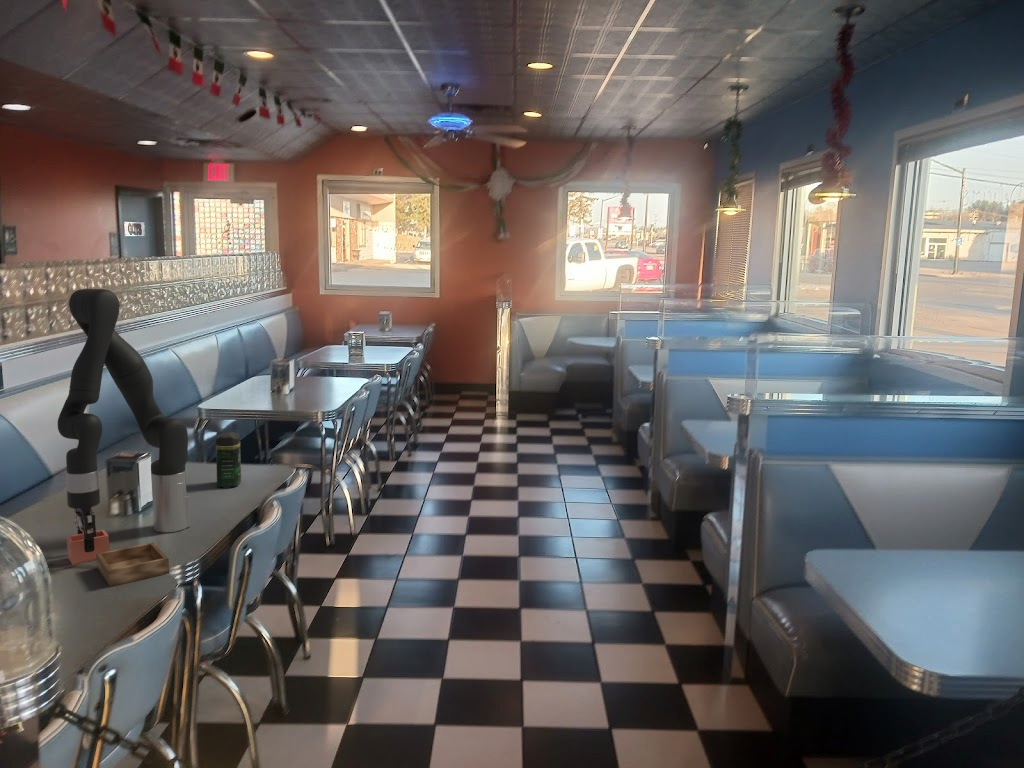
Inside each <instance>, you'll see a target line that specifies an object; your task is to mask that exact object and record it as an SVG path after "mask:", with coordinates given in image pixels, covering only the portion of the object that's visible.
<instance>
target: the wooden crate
mask: <svg viewBox="0 0 1024 768" xmlns="http://www.w3.org/2000/svg"><path fill="white" fill-rule="evenodd" d="M96 558H97V560H96V569H97V570H98V573H100V575H101V576H102V578H103V579H104V580H105V581H106V583H107V585H108V586H109V587H115V586H120V585H124V584H128V583H132V582H136V581H142V580H146V579H151V578H154V577H159V576H160V577H161V576H163V575H168V574H170V563H169V562H170V558H169V557H168V556H167V555H166V554H165V553H164V552H163V551H162V550H161V549H160V548H159V547H158V545H157V544H155V542H153V541H152V542H148V543H142V544H139V545H135V546H134V545H133V546H127V547H122V548H118V549H112V550H110V551H107V552H102V553H97V554H96Z"/></svg>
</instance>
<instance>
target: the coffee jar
mask: <svg viewBox="0 0 1024 768" xmlns="http://www.w3.org/2000/svg"><path fill="white" fill-rule="evenodd" d="M215 460H216V461H215V462H216V485H217V487H218V488H219V487H220V488H225V489H226V488H227V489H229V488H232V487H238V486H239V485H240V484H241V482H242V468H241V467H242V465H241V462H242V460H241V435H240V434H239V433H237V432H236V431H223V432H222V433H220V434H218V435H217V436H216V438H215Z"/></svg>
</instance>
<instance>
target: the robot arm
mask: <svg viewBox="0 0 1024 768" xmlns="http://www.w3.org/2000/svg"><path fill="white" fill-rule="evenodd" d="M68 306H69V311H70V313H71V316H72V317H73V319H74V320H75V322H76V323H77V324H78V326H79V327H80V329H81V330H82V331H83V333H84V334H85V335H86V338H87V339H86V340H85V343H84V346H83V347H82V350H81V351H80V353H79V355H78V357H77V359H76V361H75V362H74V364H73V367H72V370H71V375H70V383H69V389H68V396H67V397H66V398H65V401H64V404H63V406H62V408H61V411H60V412H59V415H58V417H57V430H58V433H59V434H60V436H61V437H62V438H64V439H69V440H77V442H78V444H77V447H74V448H71V449H69V450H68V451H67V452H66V455H65V459H66V460H65V461H66V486H65V487H66V499H67V501H66V502H67V507H68V508H69V509H74V511H73V512H74V524H75V528H76V529H77V535H78V534H83V538H84V550H85V552H92V551H94V537H96V531H97V530H96V529H97V528H96V527H97V526H96V515H95V511H93V509H92V508H93V507H96V506H98V505H99V504H100V503H101V493H100V476H99V471H98V459H97V458H98V457H97V454H98V451H99V447H100V444H101V439H102V435H103V424H102V421H101V419H100V417H99V416H97V415H96V414H93V413H85V410H86V409H87V407H88V406H89V405H92V404H96V403H97V402H98V401H99V400H100V394H101V393H100V392H101V387H102V386H101V385H102V379H103V371H104V366H105V367H106V369H107V371H108V374H109V375H110V376H111V379H112V380H113V382H114V384H115V385H116V387H117V389H118V391H119V392H120V393H121V395H122V396H123V397H122V398H124V400H125V402H126V404H127V405H128V407H129V409H130V410H131V412H132V414H133V416H134V418H135V420H136V424H137V425H138V427H139V430H140V433H141V434H142V436H143V439H144V440H145V442H146V443H147V445H149V446H151V447H153V448H158V459H156V460H154V461H152V463H151V464H150V476H151V478H150V479H151V493H152V494H151V495H152V497H151V498H152V513H153V515H152V516H153V528H154V531H155V532H158V533H173V532H174V533H175V532H179V531H182V530H184V529H187V528H190V527H191V519H190V518H191V517H190V514H191V513H190V496H189V495H188V494H187V479H186V476H187V475H186V464H187V462H188V457H189V437H188V436H189V434H188V429H187V426H186V425H185V423H184V422H183V421H182V420H180V419H177V418H173V417H169V416H168V417H167V416H166V415H164V413H163V412H162V411H161V409H160V408H159V406H158V404H157V403H156V400H155V396H154V380H153V376H152V373H151V371H150V369H149V368H148V365H147V364H146V362H145V360H144V359H143V356H141V354H140V353H139V352H138V351H137V349H135V348H134V347H133V346H132V345H131V344H129V342H127V341H126V340H125V339H124V338H123V337H122V336H121V335H120V334H119V333H118V332H117V331H116V330H115V329H116V325H117V321H118V318H119V315H120V309H121V307H120V306H121V305H120V300H119V297H118V296H117V295H116V294H115V293H114V292H112V290H109V289H103V288H82V289H77V290H75V291H74V292H73V293H71V295H70V297H69V301H68ZM88 531H90V532H91V533H89V532H88ZM87 533H88V534H87Z"/></svg>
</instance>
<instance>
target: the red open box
mask: <svg viewBox="0 0 1024 768" xmlns="http://www.w3.org/2000/svg"><path fill="white" fill-rule="evenodd" d="M88 533H91V531H90V532H89V531H88V532H87V534H88ZM65 539H66V549H67V550H66V551H67V559H68V561H69V562H70V564H71V565H76V564H77V565H78V564H82V563H87V562H92V561H97V558H96V554H97V553H102V552H107V551H111V548H110V536H109V533H107V532H106V530H105V529H101V530H100V529H99V530H96V537H94V551H92V552H85V550H84V538H83V534H78V533H77V534H73V535H67V536H66V538H65Z"/></svg>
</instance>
